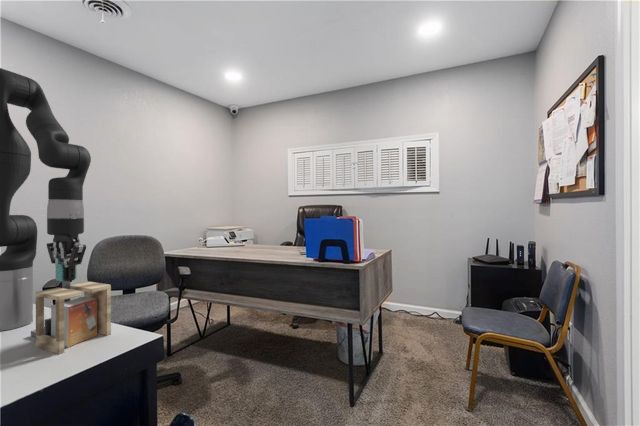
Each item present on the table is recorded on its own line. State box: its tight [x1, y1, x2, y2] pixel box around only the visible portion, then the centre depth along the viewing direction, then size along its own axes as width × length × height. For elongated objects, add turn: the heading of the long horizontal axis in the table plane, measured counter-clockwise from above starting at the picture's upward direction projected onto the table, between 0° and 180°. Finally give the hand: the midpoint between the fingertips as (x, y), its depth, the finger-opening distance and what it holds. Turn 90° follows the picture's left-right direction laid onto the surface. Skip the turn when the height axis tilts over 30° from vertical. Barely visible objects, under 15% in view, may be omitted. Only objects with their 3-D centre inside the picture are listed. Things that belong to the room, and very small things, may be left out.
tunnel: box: [35, 281, 112, 355], centre depth 77 cm, size 10×12×14 cm
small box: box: [50, 296, 98, 348], centre depth 77 cm, size 8×6×10 cm
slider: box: [44, 263, 77, 336], centre depth 78 cm, size 2×9×20 cm, turn 159°
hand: (66, 279), depth 78 cm, fingers closed on slider, 2 cm apart
